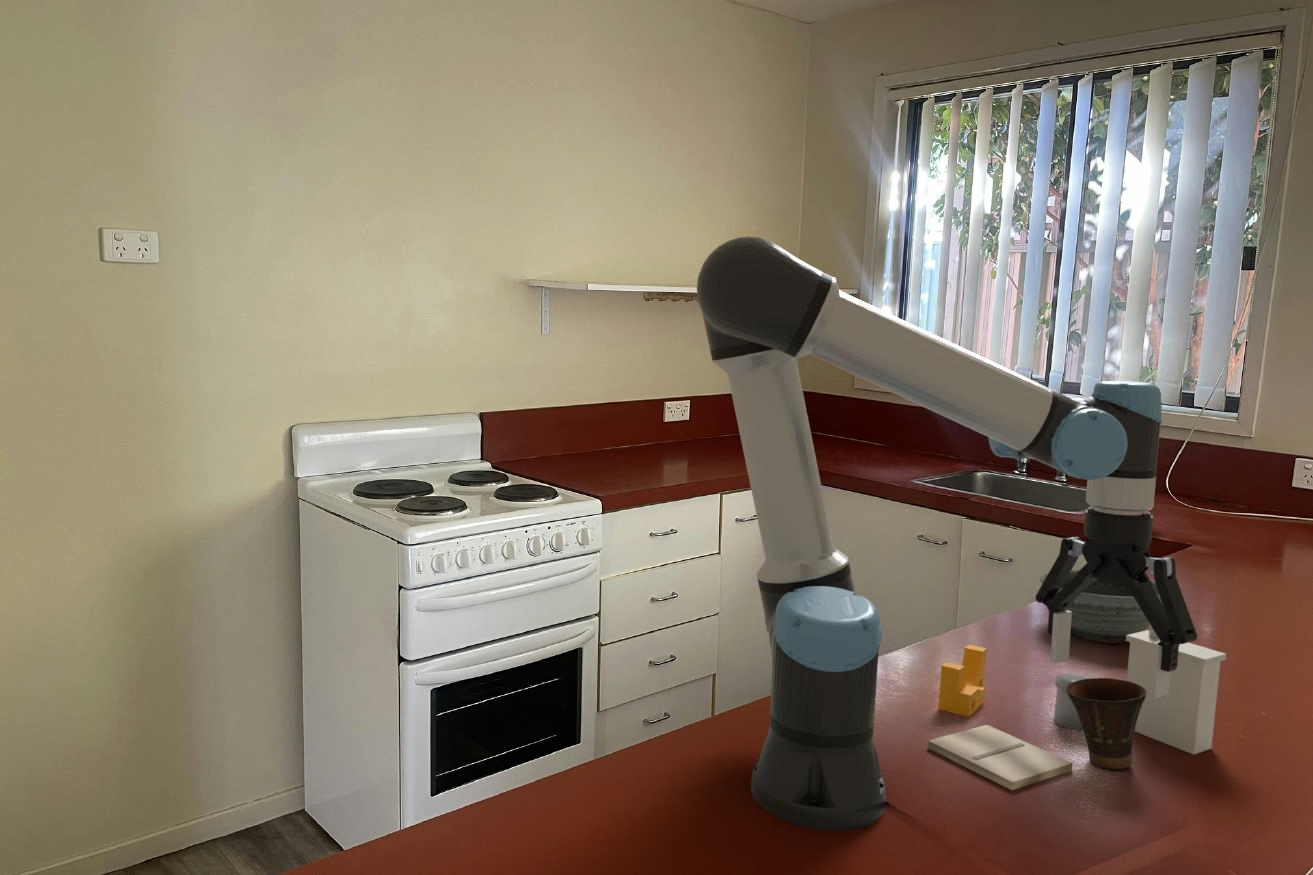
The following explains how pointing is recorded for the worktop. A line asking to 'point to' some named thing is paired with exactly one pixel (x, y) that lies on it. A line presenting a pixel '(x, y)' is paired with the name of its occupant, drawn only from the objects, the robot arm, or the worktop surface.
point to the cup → (1108, 718)
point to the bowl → (1105, 611)
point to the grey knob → (1066, 702)
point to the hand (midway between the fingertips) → (1106, 677)
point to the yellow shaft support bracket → (963, 683)
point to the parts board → (1000, 756)
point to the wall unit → (1177, 694)
